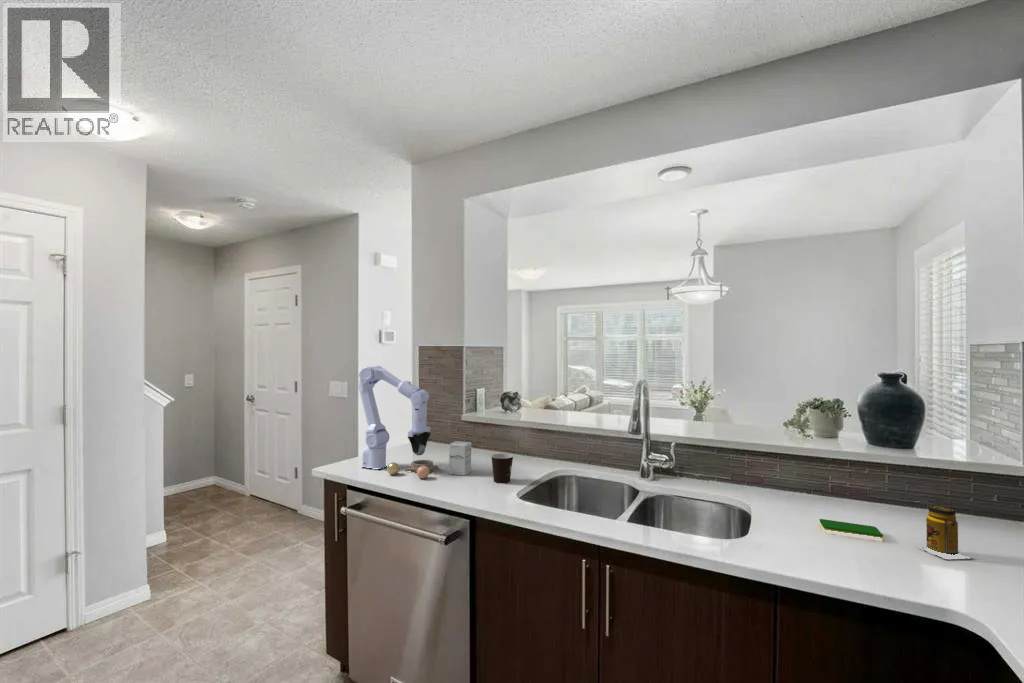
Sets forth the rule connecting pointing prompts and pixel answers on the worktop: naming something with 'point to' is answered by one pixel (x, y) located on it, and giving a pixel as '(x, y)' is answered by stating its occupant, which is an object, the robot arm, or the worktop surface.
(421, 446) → the steel ball
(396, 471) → the brass ball
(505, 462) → the coffee mug
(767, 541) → the worktop surface
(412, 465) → the race board
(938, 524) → the condiment
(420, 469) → the terracotta ball
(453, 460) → the supplement box
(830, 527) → the dish sponge
